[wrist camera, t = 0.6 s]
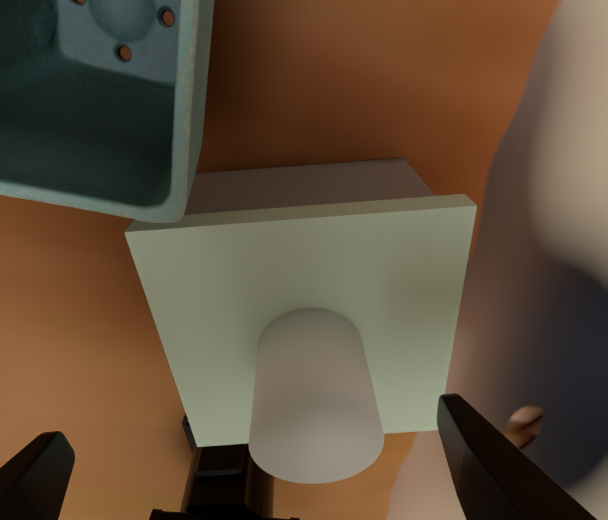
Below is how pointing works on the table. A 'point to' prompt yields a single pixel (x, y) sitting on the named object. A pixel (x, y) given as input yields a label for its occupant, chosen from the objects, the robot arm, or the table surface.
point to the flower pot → (103, 103)
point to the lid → (309, 324)
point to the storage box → (305, 186)
